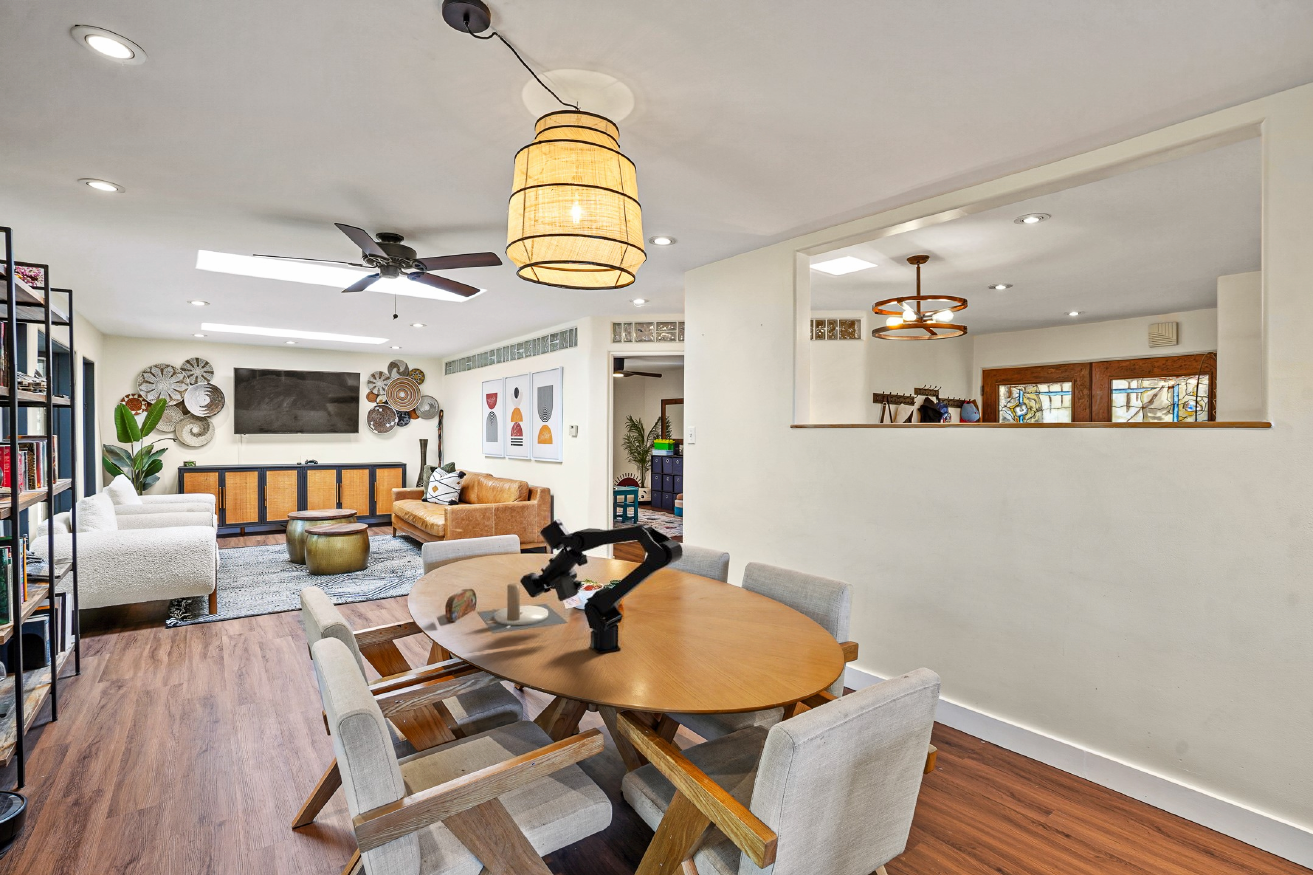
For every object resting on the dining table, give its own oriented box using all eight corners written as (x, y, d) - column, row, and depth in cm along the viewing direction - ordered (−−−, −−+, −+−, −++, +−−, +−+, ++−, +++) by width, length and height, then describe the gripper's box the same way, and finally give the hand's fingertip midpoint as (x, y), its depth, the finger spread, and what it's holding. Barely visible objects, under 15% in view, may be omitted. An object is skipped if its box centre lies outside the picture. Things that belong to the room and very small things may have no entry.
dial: (539, 606, 202) (539, 571, 202) (555, 620, 188) (555, 583, 188) (488, 613, 195) (489, 576, 195) (501, 628, 181) (501, 589, 181)
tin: (452, 627, 185) (453, 598, 185) (443, 626, 186) (443, 597, 185) (477, 612, 200) (477, 585, 200) (468, 611, 200) (468, 585, 200)
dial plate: (545, 606, 207) (545, 602, 206) (568, 626, 187) (568, 622, 187) (477, 615, 197) (477, 611, 196) (492, 636, 177) (492, 632, 177)
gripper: (559, 594, 164) (527, 629, 171) (600, 577, 181) (570, 608, 187) (535, 561, 168) (505, 596, 174) (578, 546, 184) (549, 579, 190)
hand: (534, 595), depth 181 cm, fingers closed
